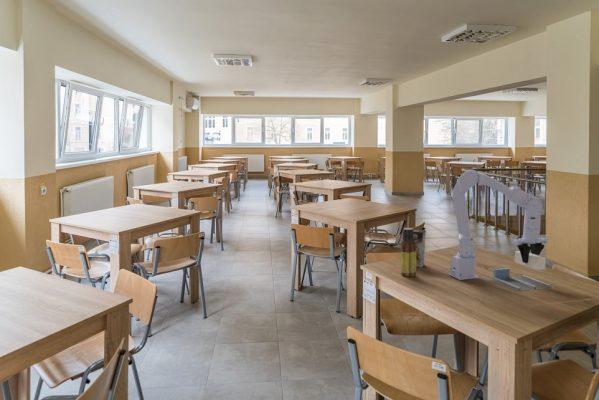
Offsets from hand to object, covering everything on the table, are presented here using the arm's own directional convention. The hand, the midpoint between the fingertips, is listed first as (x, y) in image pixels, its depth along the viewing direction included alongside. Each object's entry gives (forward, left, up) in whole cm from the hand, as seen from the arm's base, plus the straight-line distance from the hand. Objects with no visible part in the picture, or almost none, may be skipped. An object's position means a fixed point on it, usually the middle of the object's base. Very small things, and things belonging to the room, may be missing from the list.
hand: (529, 262), depth 178 cm
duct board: (-3, 0, -9) cm, 9 cm away
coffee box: (-30, +36, -9) cm, 48 cm away
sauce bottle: (-40, +22, -9) cm, 47 cm away
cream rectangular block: (0, 0, -1) cm, 1 cm away
